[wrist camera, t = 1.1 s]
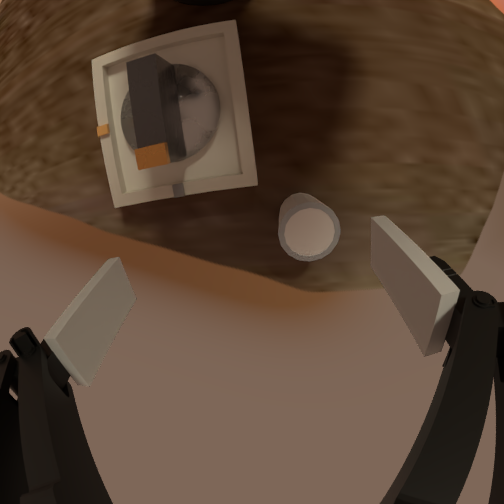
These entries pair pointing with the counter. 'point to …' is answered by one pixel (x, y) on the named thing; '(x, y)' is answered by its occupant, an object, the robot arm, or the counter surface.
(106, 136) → the housing
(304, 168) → the counter surface
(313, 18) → the counter surface
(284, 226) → the shot glass
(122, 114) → the dial
